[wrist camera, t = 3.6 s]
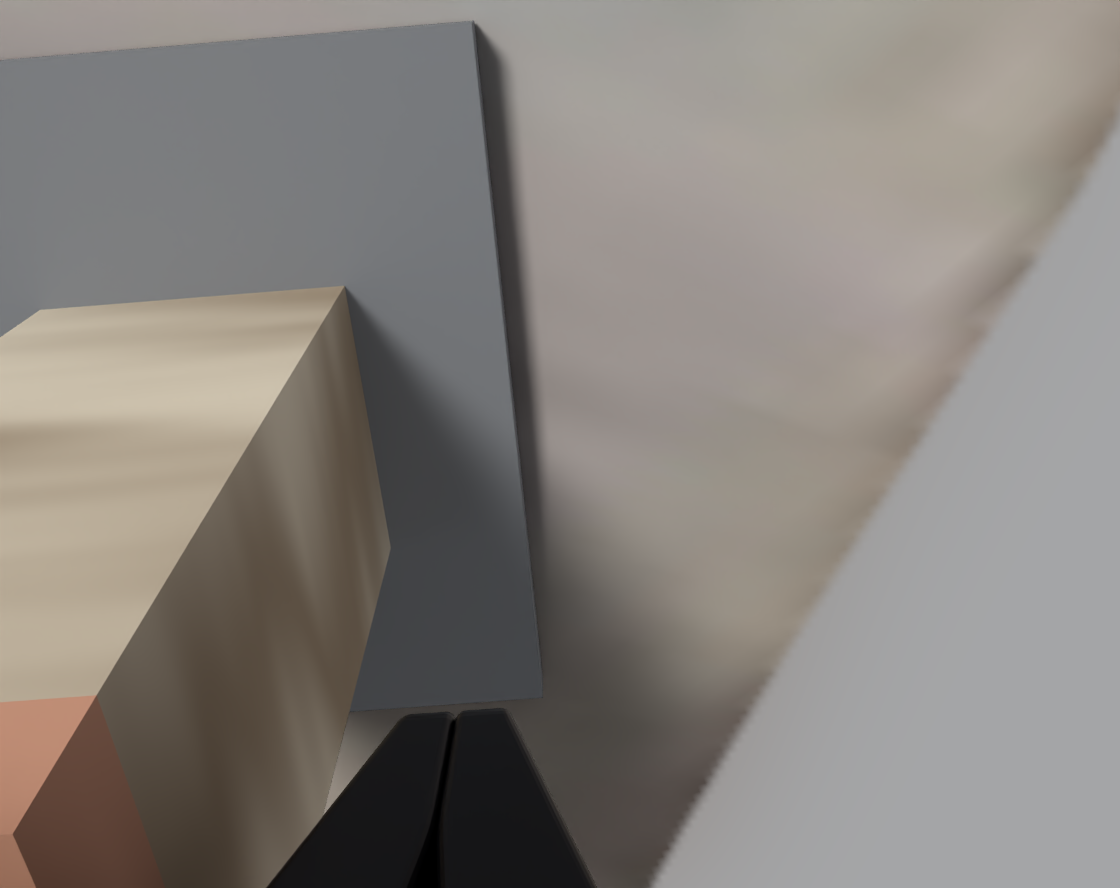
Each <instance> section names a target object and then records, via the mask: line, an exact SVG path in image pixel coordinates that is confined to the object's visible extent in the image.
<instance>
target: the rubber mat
mask: <svg viewBox="0 0 1120 888" xmlns="http://www.w3.org/2000/svg"><path fill="white" fill-rule="evenodd" d="M335 286H345V291H346V296H347V302H348V308H349V313H350V319H351V325H352V330H353V336H354V342H355V347H356V353H357V359H358V364H359V370H360V376H361V382H362V387H363V393H364V399H365V404H366V410H367V416H368V421H369V427H370V433H371V438H372V444H373V450H374V455H375V461H376V467H377V472H378V478H379V484H380V489H381V495H382V501H383V506H384V512H385V518H386V523H387V529H388V535H389V540H390V546H391V549H390V553H389V557H388V561H387V565H386V569H385V573H384V577H383V581H382V585H381V589H380V593H379V597H378V600H377V604H376V608H375V612H374V616H373V620H372V624H371V628H370V632H369V636H368V640H367V644H366V648H365V652H364V656H363V660H362V664H361V667H360V671H359V675H358V679H357V683H356V687H355V691H354V695H353V699H352V703H351V707H350V711H349V712H354V711H367V710H381V709H395V708H409V707H422V706H436V705H450V704H464V703H478V702H491V701H505V700H519V699H533V698H543V675H542V666H541V656H540V646H539V637H538V627H537V618H536V608H535V599H534V589H533V580H532V570H531V560H530V551H529V541H528V532H527V522H526V513H525V503H524V493H523V484H522V474H521V465H520V455H519V446H518V436H517V426H516V417H515V407H514V398H513V388H512V379H511V369H510V360H509V350H508V340H507V331H506V321H505V312H504V302H503V293H502V283H501V273H500V264H499V254H498V245H497V235H496V226H495V216H494V206H493V197H492V187H491V178H490V168H489V159H488V149H487V139H486V130H485V120H484V111H483V101H482V92H481V82H480V73H479V63H478V53H477V44H476V34H475V25H474V21H464V22H452V23H440V24H428V25H416V26H404V27H392V28H380V29H368V30H356V31H344V32H332V33H320V34H308V35H296V36H284V37H272V38H260V39H248V40H236V41H224V42H212V43H200V44H188V45H176V46H164V47H152V48H140V49H128V50H116V51H104V52H92V53H80V54H68V55H56V56H44V57H32V58H20V59H8V60H0V337H1V336H3V335H4V334H6V333H7V332H9V331H10V330H12V329H13V328H15V327H16V326H17V325H19V324H20V323H22V322H23V321H25V320H26V319H28V318H29V317H30V316H32V315H33V314H35V313H36V312H38V311H39V310H45V309H58V308H70V307H83V306H96V305H108V304H121V303H134V302H146V301H159V300H171V299H184V298H197V297H209V296H222V295H234V294H247V293H260V292H272V291H285V290H298V289H310V288H323V287H335Z"/></svg>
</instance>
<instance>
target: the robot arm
mask: <svg viewBox="0 0 1120 888" xmlns="http://www.w3.org/2000/svg"><path fill="white" fill-rule="evenodd" d="M266 888H597V886H596V884H595V882H594V880H593V878H592V876H591V874H590V872H589V870H588V868H587V866H586V864H585V862H584V860H583V858H582V856H581V854H580V852H579V850H578V848H577V846H576V844H575V842H574V840H573V838H572V836H571V834H570V832H569V830H568V828H567V826H566V824H565V822H564V820H563V818H562V816H561V814H560V812H559V810H558V808H557V806H556V804H555V802H554V800H553V798H552V796H551V794H550V792H549V790H548V788H547V786H546V784H545V782H544V780H543V778H542V775H541V773H540V771H539V769H538V767H537V765H536V763H535V761H534V759H533V757H532V755H531V753H530V751H529V749H528V747H527V745H526V743H525V741H524V739H523V737H522V735H521V733H520V731H519V729H518V727H517V725H516V723H515V721H514V719H513V717H512V715H511V714H510V713H509V711H508V710H506V709H503V708H496V709H482V710H467V711H462V712H461V713H460V714H459V715H458V716H457V718H455V717H454V715H453V714H451V713H450V712H437V713H422V714H410V715H406V716H404V717H403V718H402V719H400V720H399V721H398V722H397V724H396V725H395V726H394V727H393V729H392V730H391V731H390V732H389V734H388V735H387V736H386V738H385V739H384V740H383V741H382V743H381V744H380V745H379V746H378V748H377V749H376V750H375V751H374V753H373V754H372V755H371V756H370V758H369V759H368V760H367V761H366V763H365V764H364V765H363V766H362V768H361V769H360V770H359V771H358V773H357V774H356V775H355V777H354V778H353V779H352V780H351V782H350V783H349V784H348V785H347V787H346V788H345V789H344V790H343V792H342V793H341V794H340V795H339V797H338V798H337V799H336V800H335V802H334V803H333V804H332V805H331V807H330V808H329V809H328V810H327V812H326V813H325V814H324V815H323V817H322V818H321V819H320V821H319V822H318V823H317V824H316V826H315V827H314V828H313V829H312V831H311V832H310V833H309V834H308V836H307V837H306V838H305V839H304V841H303V842H302V843H301V844H300V846H299V847H298V848H297V849H296V851H295V852H294V853H293V854H292V856H291V857H290V858H289V859H288V861H287V862H286V863H285V865H284V866H283V867H282V868H281V870H280V871H279V872H278V873H277V875H276V876H275V877H274V878H273V880H272V881H271V882H270V883H269V885H268V886H267V887H266Z"/></svg>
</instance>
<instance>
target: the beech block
mask: <svg viewBox="0 0 1120 888" xmlns="http://www.w3.org/2000/svg"><path fill="white" fill-rule="evenodd" d="M390 549H391V546H390V540H389V535H388V529H387V523H386V518H385V512H384V506H383V501H382V495H381V489H380V484H379V478H378V472H377V467H376V461H375V455H374V450H373V444H372V438H371V433H370V427H369V421H368V416H367V410H366V404H365V399H364V393H363V387H362V382H361V376H360V370H359V364H358V359H357V353H356V347H355V342H354V336H353V330H352V325H351V319H350V313H349V308H348V302H347V296H346V291H345V286H335V287H323V288H310V289H298V290H285V291H272V292H260V293H247V294H234V295H222V296H209V297H197V298H184V299H171V300H159V301H146V302H134V303H121V304H108V305H96V306H83V307H70V308H58V309H45V310H39V311H38V312H36V313H35V314H33V315H32V316H30V317H29V318H28V319H26V320H25V321H23V322H22V323H20V324H19V325H17V326H16V327H15V328H13V329H12V330H10V331H9V332H7V333H6V334H4V335H3V336H1V337H0V888H266V887H267V886H268V885H269V883H270V882H271V881H272V880H273V878H274V877H275V876H276V875H277V873H278V872H279V871H280V870H281V868H282V867H283V866H284V865H285V863H286V862H287V861H288V859H289V858H290V857H291V856H292V854H293V853H294V852H295V851H296V849H297V848H298V847H299V846H300V844H301V843H302V842H303V841H304V839H305V838H306V837H307V836H308V834H309V833H310V832H311V831H312V829H313V828H314V827H315V826H316V824H317V823H318V822H319V821H320V819H321V818H322V817H323V813H324V809H325V805H326V801H327V797H328V794H329V790H330V786H331V782H332V778H333V774H334V770H335V766H336V762H337V758H338V754H339V750H340V746H341V742H342V738H343V734H344V731H345V727H346V723H347V719H348V715H349V711H350V707H351V703H352V699H353V695H354V691H355V687H356V683H357V679H358V675H359V671H360V667H361V664H362V660H363V656H364V652H365V648H366V644H367V640H368V636H369V632H370V628H371V624H372V620H373V616H374V612H375V608H376V604H377V600H378V597H379V593H380V589H381V585H382V581H383V577H384V573H385V569H386V565H387V561H388V557H389V553H390Z"/></svg>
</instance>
